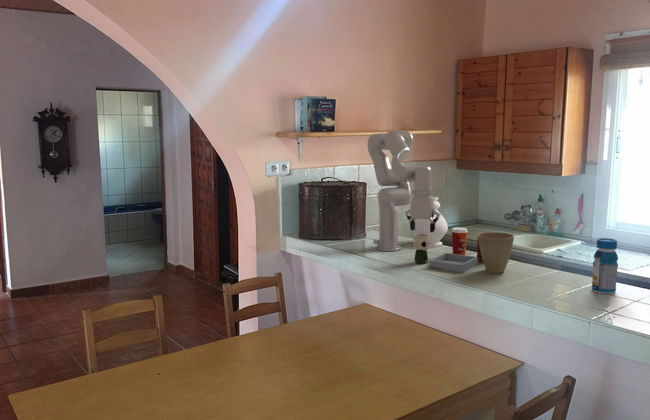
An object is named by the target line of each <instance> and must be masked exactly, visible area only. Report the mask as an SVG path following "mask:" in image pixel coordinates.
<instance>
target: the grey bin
mask: <svg viewBox="0 0 650 420" xmlns="http://www.w3.org/2000/svg"><path fill="white" fill-rule="evenodd" d="M478 263H479V261H478V257H477V256H472V255H466V254H465V255H457V254H453V253H451V252H450V253H448V252H445V253H442V254H440V255H438V256H435V257H434V258H431V259H428V268H429V269H434V270H440V271H441V270H442V271H447V272H453V273H460V274H463V273H465V272H467V271H469V270H471V269H472V268H474V267H476V266H478V265H479V264H478Z"/></svg>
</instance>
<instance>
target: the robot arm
mask: <svg viewBox="0 0 650 420" xmlns="http://www.w3.org/2000/svg"><path fill="white" fill-rule="evenodd" d="M413 144H414V137H413V134H412V133H411V132H410V131H408V130H389V131H387V132H380V133H379V132H378V133H374V134H371V135H370V136H369V137H368V139H367V144H366V145H367V151H368V154H369V156H370V159H371V160H372V164H373V168H374V173H375V178H376V181H377V184H378V185H379V186H380V187H384V188H381V189H380V190H378V193H377V203H378V209H379V213H378V215H379V218H378V219H379V223H378V224H379V229H378V232H379V235H378V236H379V239H376V238H374V239H373V242H372V243H373V244H376V248H375V249H376V250H378V251H381V252H397V251H400V250H401V249H402V247H401V245H399V214H398V212H397V210H396V208H395V207H402V206H408V205H410V209H408V210H406V211H405V212H404V214H405V216H406V218H407V219H408V222H409V224H410V225H409V226H410V227H409V228H410V231H414V230H415V221H416V219H429V220H430V222H431V223H430V232H434V230H435V223H436V222H437V221H438V220H439V217H440V215H442V213H441V212H439V211H438V210H437V211H438V212H439V213H438V212H437V211H435V210H434V203H433V198H432V197H433V196H432V168H431V167H430V166H424V165H421V164H419V165H416V164H415V165H412V164H411V165H403V164H402V162H404V161H406V160H407V159H408V158H409V157H410V155H411V150H410V147H411V146H412V145H413ZM385 150H386V151H387V150H388V151H389V152H390V154H391V156H392V159H391V161H390V157H388V156H387V153H385V152H384V151H385ZM409 182H410V183H412V182H413V186H414V187H413V190H412V191H411V186H410V183H409ZM412 194H413V196H412ZM434 214H435V215H436V218H435V219H434Z"/></svg>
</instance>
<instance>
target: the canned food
mask: <svg viewBox="0 0 650 420" xmlns="http://www.w3.org/2000/svg"><path fill="white" fill-rule="evenodd" d="M476 257H478V263H483V260H482V256H481V252H480V247H479V240H478V238H477V242H476Z"/></svg>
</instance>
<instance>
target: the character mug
mask: <svg viewBox="0 0 650 420" xmlns="http://www.w3.org/2000/svg"><path fill="white" fill-rule="evenodd" d="M412 242H413V244H412V246H413V248H414V249H415V252H414V253H415V254H414V260H413V261H414V262H416V263H418V264H425V263H429V256H428V251H427V250H429V249H430V246H429V243H430V238H429V235H428V234H416V233H414V234H413V241H412Z"/></svg>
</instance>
